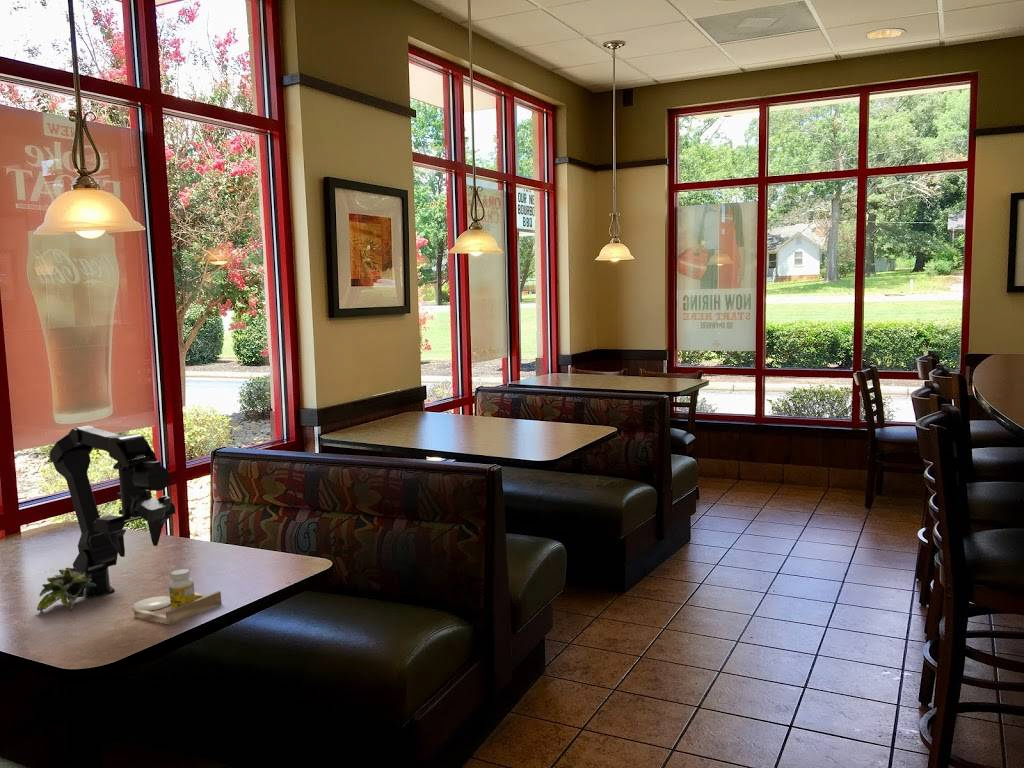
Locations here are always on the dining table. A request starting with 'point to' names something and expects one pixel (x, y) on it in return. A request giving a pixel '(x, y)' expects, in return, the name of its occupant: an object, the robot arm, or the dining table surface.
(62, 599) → the green leafy plant
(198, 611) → the wooden slat frame
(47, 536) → the dining table surface
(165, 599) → the coaster
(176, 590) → the supplement bottle
